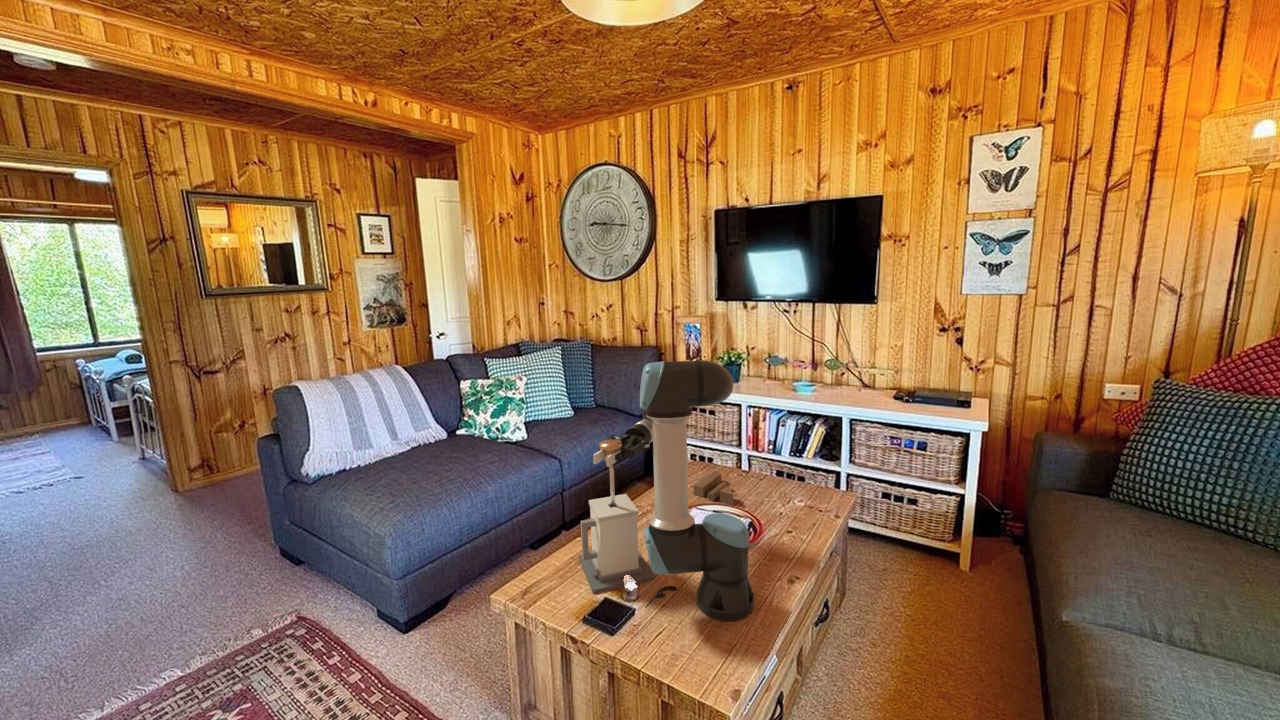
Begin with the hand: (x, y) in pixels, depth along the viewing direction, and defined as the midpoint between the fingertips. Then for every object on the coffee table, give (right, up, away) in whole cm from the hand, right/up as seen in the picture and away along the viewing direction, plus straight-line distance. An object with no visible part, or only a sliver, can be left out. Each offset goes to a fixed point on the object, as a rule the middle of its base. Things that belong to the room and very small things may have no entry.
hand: (600, 460), depth 140 cm
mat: (+3, -34, +11) cm, 36 cm away
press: (+2, -33, +11) cm, 35 cm away
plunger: (+3, -18, +8) cm, 20 cm away
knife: (+16, -37, -3) cm, 41 cm away
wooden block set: (+43, -25, +60) cm, 78 cm away
